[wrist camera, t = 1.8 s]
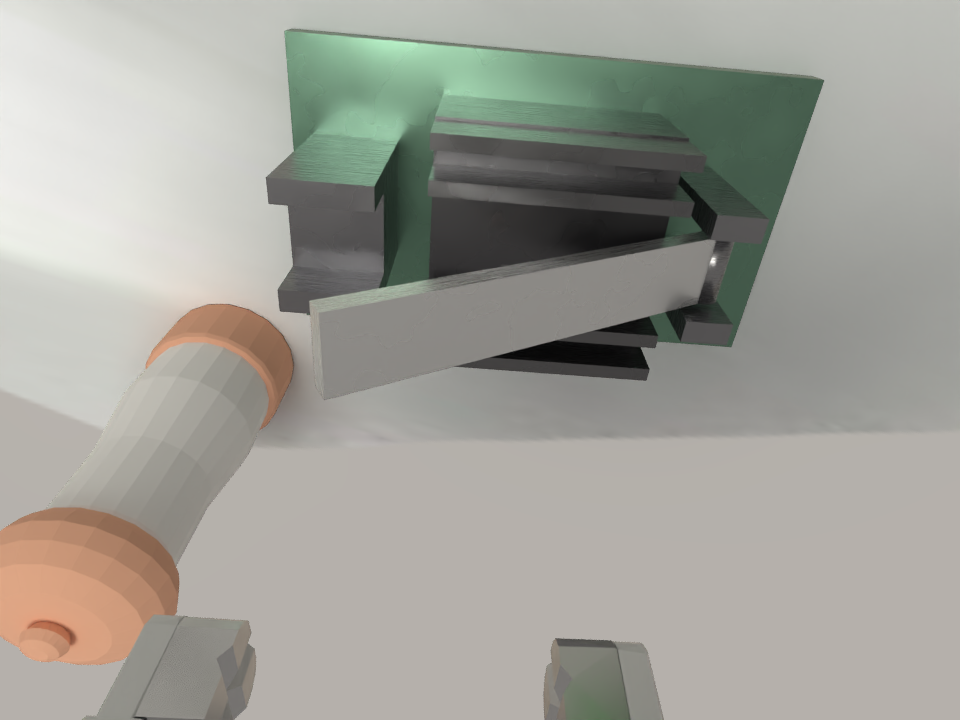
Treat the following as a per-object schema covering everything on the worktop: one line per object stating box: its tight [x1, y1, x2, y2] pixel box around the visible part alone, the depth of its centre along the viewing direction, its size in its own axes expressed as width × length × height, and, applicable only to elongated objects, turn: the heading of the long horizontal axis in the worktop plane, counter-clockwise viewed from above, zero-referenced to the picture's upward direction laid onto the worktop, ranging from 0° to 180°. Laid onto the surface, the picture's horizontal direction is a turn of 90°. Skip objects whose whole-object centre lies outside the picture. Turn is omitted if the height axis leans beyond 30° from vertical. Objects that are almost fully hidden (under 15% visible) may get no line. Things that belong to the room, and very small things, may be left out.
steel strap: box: [309, 230, 734, 400], centre depth 23 cm, size 18×3×1 cm
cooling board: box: [266, 29, 824, 381], centre depth 28 cm, size 24×14×9 cm, turn 85°
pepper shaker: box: [0, 305, 294, 665], centre depth 29 cm, size 7×7×19 cm
